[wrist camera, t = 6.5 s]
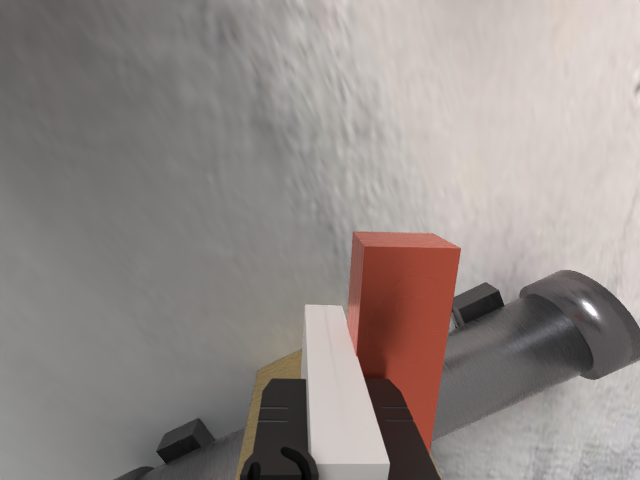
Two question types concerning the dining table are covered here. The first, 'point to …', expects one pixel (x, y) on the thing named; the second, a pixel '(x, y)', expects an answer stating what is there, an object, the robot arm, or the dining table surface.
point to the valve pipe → (457, 367)
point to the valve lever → (403, 314)
